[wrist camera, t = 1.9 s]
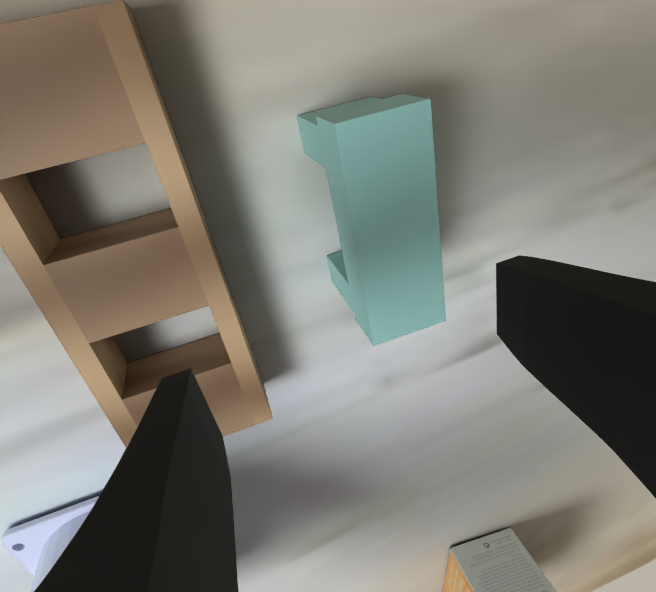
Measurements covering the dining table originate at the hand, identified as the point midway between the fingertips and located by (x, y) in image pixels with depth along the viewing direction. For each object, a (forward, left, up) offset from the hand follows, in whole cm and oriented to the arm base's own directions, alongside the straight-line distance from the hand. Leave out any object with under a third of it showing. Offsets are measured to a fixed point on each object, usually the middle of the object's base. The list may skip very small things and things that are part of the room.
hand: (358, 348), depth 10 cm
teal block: (0, -3, -10) cm, 11 cm away
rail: (0, +6, -10) cm, 12 cm away
